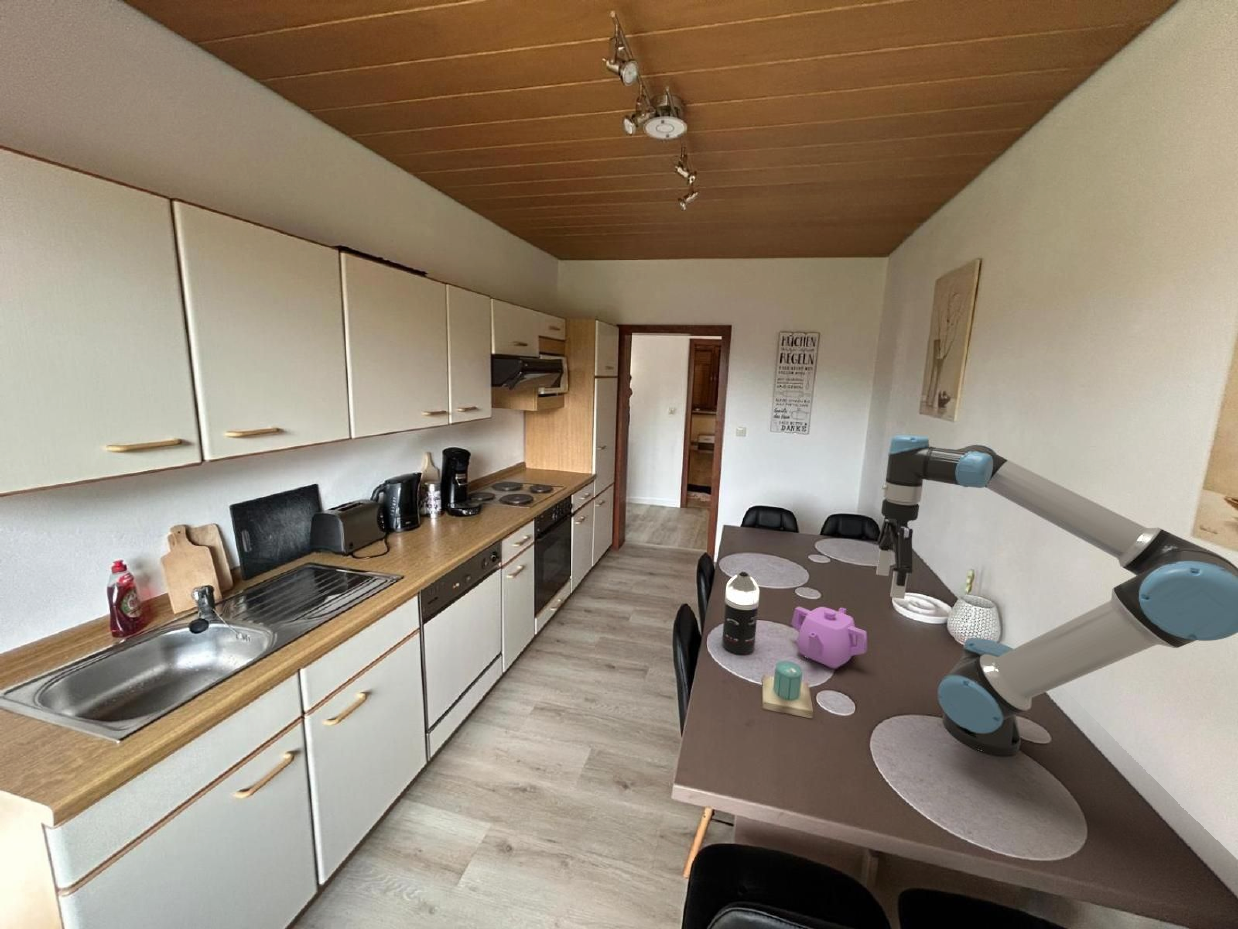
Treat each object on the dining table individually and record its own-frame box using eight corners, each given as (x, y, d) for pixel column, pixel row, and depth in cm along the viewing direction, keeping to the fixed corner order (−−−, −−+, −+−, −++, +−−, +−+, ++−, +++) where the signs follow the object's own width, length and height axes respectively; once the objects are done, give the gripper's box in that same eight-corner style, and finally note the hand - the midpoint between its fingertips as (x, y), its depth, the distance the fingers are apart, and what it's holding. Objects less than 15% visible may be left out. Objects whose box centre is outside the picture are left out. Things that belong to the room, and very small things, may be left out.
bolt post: (807, 689, 133) (810, 664, 132) (812, 718, 122) (815, 691, 120) (761, 681, 136) (764, 656, 135) (762, 708, 125) (765, 682, 123)
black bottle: (760, 647, 153) (767, 572, 149) (744, 660, 146) (751, 582, 141) (731, 634, 160) (737, 563, 156) (715, 646, 153) (720, 571, 148)
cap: (769, 685, 131) (771, 660, 129) (790, 683, 132) (793, 657, 131) (782, 701, 125) (784, 674, 123) (804, 698, 126) (807, 672, 125)
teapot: (840, 640, 159) (845, 597, 156) (871, 674, 141) (877, 626, 138) (783, 640, 158) (787, 597, 155) (806, 674, 140) (811, 626, 137)
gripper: (871, 488, 127) (861, 564, 131) (898, 513, 103) (885, 606, 107) (903, 490, 125) (892, 568, 129) (938, 516, 101) (923, 611, 105)
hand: (889, 585), depth 118 cm, fingers open, 13 cm apart
